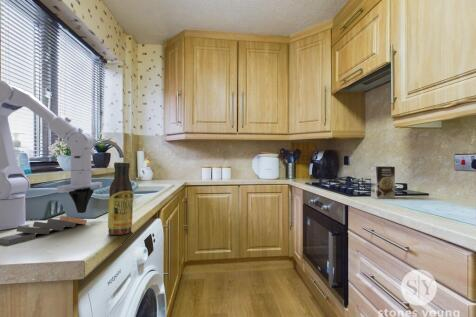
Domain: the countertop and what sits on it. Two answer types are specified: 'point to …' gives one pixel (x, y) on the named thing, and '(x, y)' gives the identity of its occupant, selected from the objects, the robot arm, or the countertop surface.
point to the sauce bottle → (120, 201)
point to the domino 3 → (48, 226)
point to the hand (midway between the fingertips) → (81, 212)
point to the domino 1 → (16, 238)
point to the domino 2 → (32, 230)
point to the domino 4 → (61, 222)
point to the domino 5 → (73, 220)
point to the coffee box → (383, 182)
